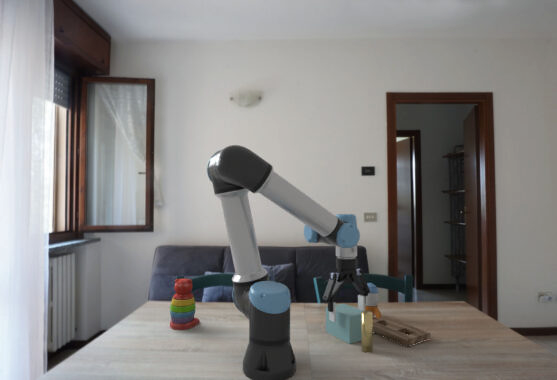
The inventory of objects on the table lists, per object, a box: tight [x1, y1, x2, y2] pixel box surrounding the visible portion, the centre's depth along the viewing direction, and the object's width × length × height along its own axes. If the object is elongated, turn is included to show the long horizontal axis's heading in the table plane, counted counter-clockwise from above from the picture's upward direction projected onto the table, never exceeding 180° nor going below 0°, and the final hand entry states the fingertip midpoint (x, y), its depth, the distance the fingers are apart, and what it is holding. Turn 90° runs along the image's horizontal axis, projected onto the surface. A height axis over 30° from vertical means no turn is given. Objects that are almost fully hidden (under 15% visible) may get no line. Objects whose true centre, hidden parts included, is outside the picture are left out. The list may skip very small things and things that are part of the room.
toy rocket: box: [356, 282, 382, 319], centre depth 145 cm, size 10×11×15 cm
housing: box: [325, 303, 362, 345], centre depth 127 cm, size 9×13×9 cm
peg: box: [360, 311, 374, 353], centre depth 114 cm, size 4×4×12 cm
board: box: [373, 316, 432, 347], centre depth 128 cm, size 12×20×2 cm, turn 31°
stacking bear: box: [169, 278, 201, 331], centre depth 136 cm, size 11×10×18 cm
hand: (347, 317), depth 127 cm, fingers open, 13 cm apart
